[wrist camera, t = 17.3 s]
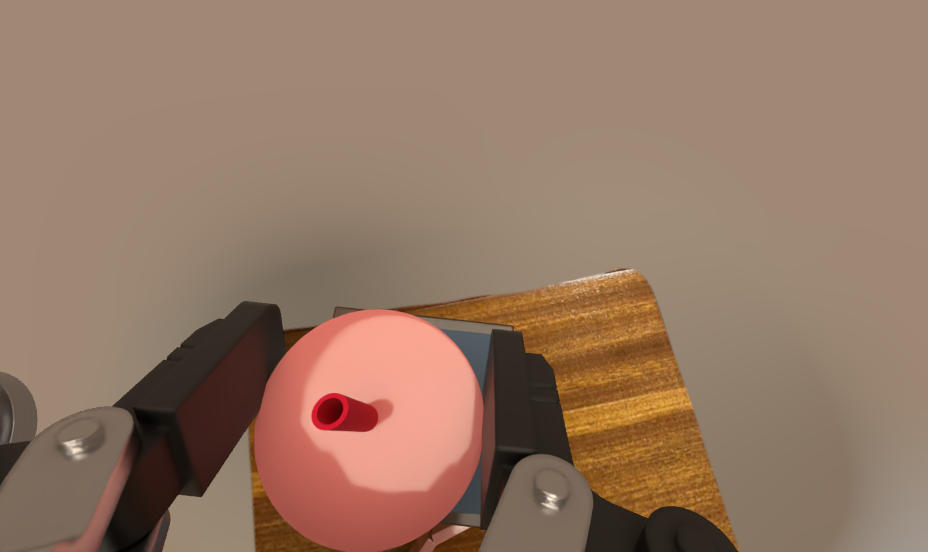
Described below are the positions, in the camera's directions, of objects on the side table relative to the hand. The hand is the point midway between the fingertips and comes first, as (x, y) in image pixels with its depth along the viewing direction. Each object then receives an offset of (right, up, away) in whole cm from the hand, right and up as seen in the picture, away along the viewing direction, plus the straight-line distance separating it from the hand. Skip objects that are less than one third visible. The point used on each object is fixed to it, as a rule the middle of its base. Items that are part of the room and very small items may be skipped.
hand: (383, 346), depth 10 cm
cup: (0, -4, +8) cm, 9 cm away
